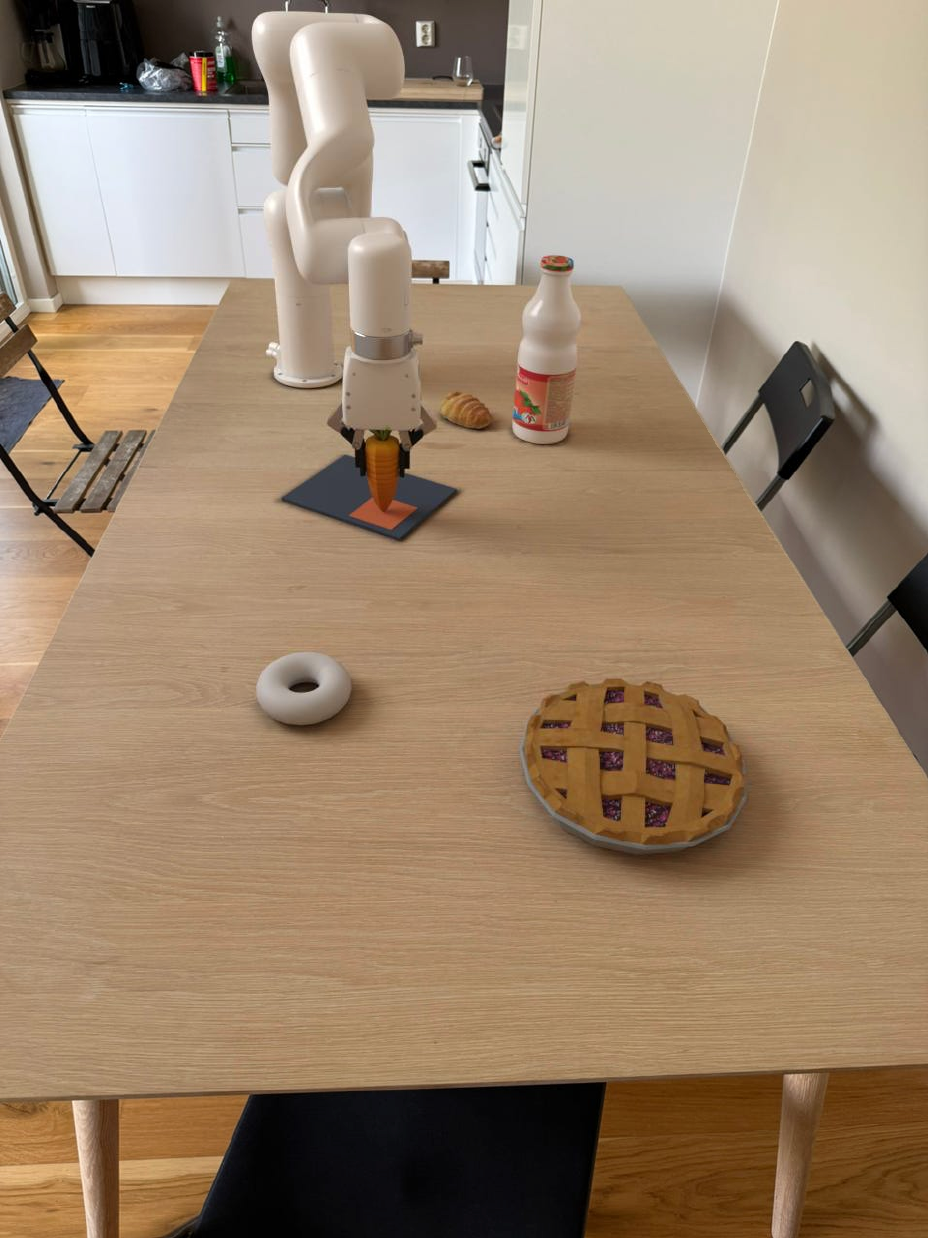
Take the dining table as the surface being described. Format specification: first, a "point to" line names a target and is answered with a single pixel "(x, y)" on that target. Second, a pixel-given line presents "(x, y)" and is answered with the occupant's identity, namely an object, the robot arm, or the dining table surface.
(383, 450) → the carrot
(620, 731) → the pie
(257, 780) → the dining table surface
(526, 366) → the fruit juice
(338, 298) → the dining table surface
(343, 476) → the mat
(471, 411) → the pastry
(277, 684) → the donut
